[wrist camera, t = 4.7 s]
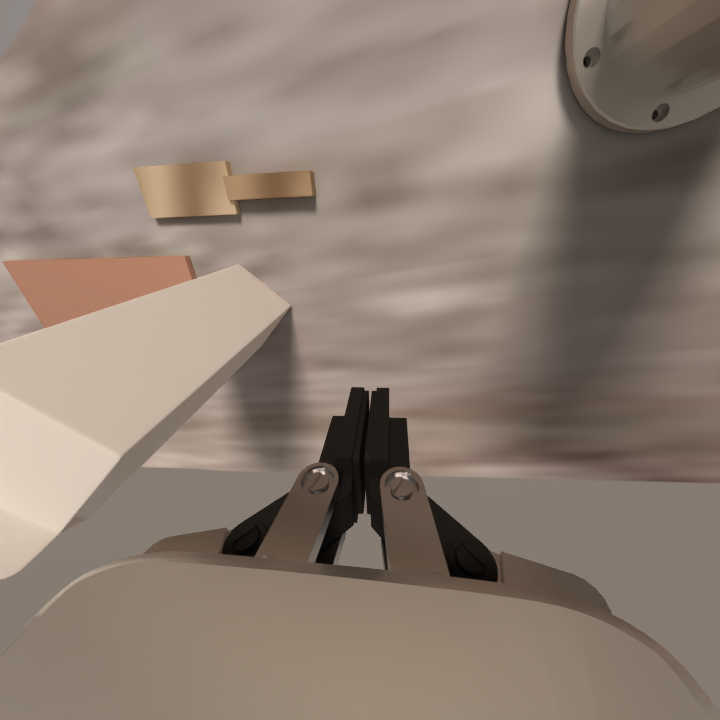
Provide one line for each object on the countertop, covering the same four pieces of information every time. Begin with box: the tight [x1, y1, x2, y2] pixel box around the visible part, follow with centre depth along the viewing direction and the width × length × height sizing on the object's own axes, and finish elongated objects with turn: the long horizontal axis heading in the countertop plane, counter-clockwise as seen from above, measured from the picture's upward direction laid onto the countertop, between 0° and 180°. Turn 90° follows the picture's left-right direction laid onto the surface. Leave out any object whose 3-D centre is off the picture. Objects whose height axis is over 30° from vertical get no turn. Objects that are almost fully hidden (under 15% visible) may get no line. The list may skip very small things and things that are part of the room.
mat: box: [3, 256, 196, 328], centre depth 28 cm, size 10×20×1 cm, turn 92°
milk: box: [0, 265, 291, 579], centre depth 17 cm, size 6×6×22 cm
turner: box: [133, 161, 316, 218], centre depth 22 cm, size 15×4×1 cm, turn 92°
